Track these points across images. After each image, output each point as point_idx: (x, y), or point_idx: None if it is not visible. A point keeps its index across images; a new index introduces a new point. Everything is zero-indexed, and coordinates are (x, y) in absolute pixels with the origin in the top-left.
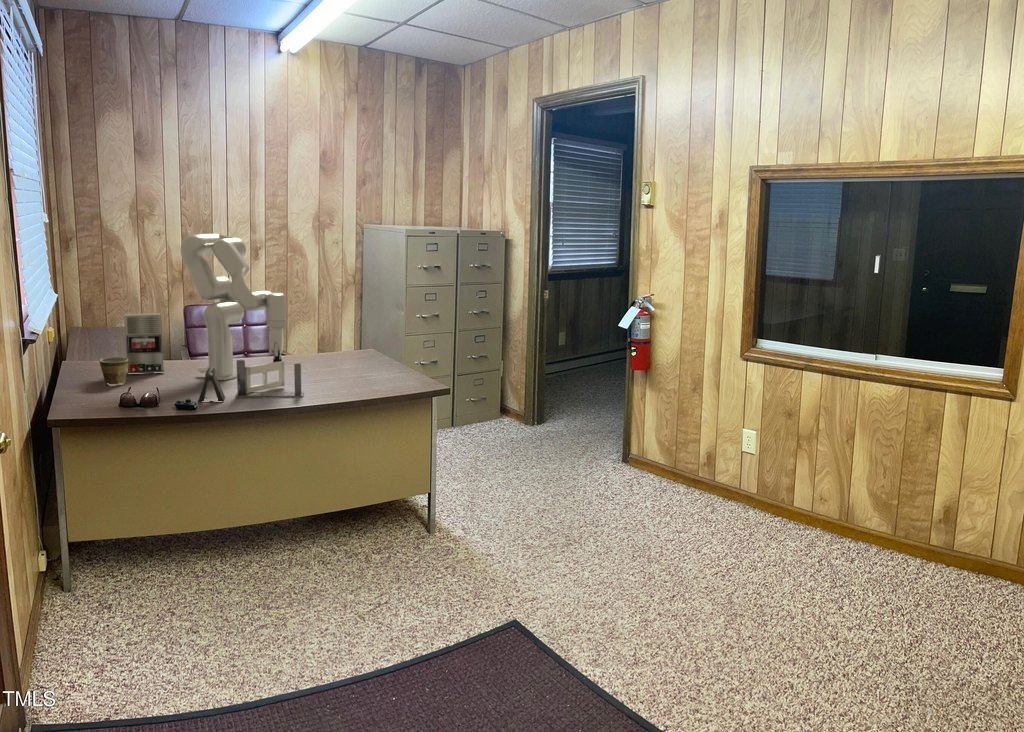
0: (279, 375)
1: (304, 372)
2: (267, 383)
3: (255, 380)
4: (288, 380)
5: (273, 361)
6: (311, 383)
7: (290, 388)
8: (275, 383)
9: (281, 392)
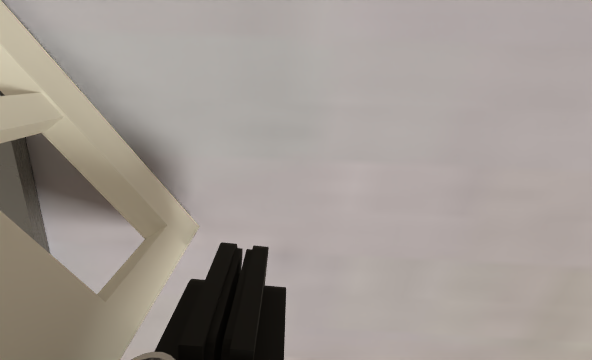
0: (139, 257)
1: (557, 342)
2: (66, 134)
3: (460, 35)
4: (388, 259)
5: (194, 312)
6: (290, 354)
7: (181, 259)
8: (107, 195)
9: (6, 211)
